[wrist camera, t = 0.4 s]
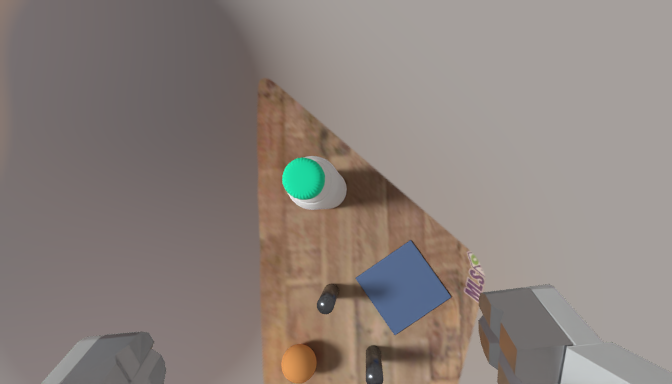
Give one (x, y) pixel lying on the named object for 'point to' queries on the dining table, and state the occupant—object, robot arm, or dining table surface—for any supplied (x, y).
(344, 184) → the water bottle
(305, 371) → the ball
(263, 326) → the dining table surface
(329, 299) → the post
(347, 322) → the dining table surface
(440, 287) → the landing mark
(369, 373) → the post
